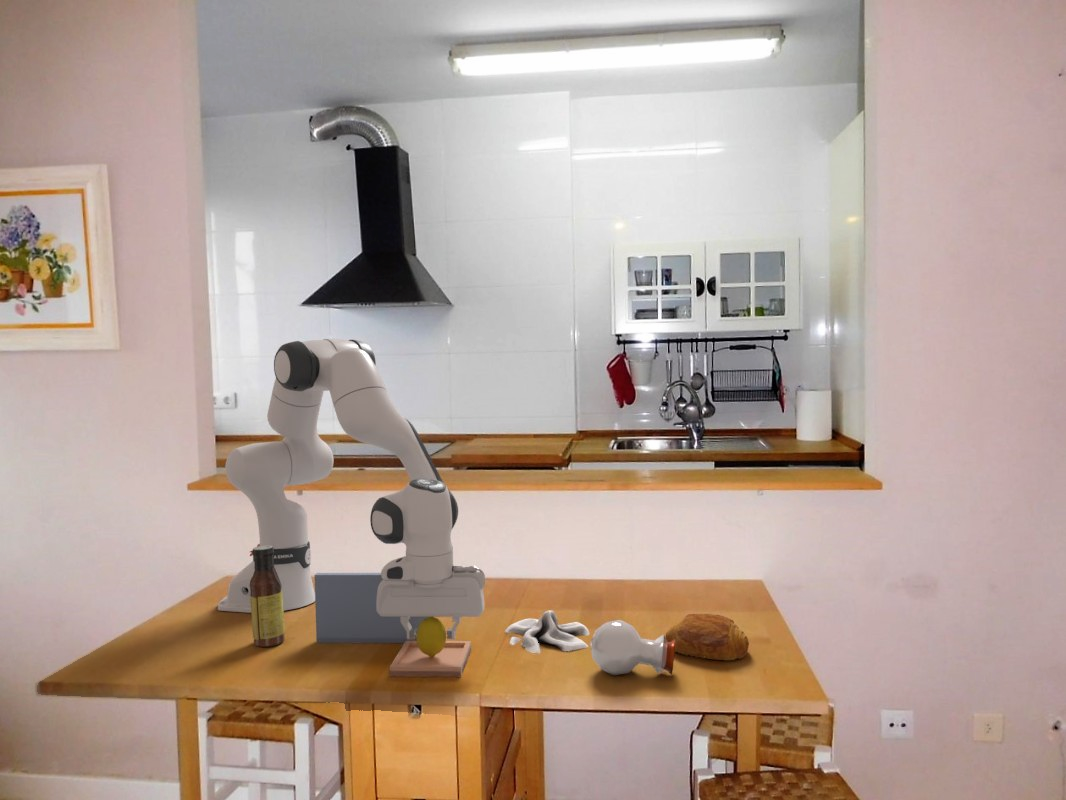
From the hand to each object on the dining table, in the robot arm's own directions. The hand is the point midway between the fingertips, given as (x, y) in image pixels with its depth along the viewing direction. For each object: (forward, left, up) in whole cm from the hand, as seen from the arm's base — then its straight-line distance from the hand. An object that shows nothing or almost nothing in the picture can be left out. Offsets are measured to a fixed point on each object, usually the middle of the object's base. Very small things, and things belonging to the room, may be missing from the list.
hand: (431, 638), depth 144 cm
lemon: (0, 0, -4) cm, 4 cm away
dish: (0, 0, -5) cm, 5 cm away
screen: (-14, +13, -5) cm, 19 cm away
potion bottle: (+38, -4, -5) cm, 38 cm away
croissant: (+53, +8, -5) cm, 54 cm away
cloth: (+21, +13, -6) cm, 25 cm away
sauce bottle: (-36, +10, -5) cm, 38 cm away
